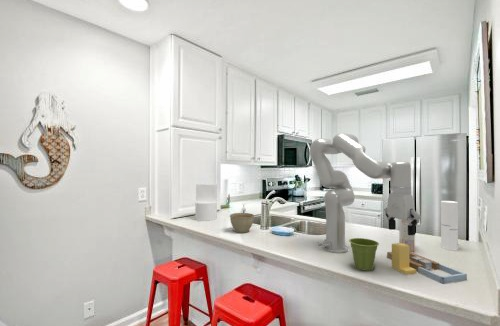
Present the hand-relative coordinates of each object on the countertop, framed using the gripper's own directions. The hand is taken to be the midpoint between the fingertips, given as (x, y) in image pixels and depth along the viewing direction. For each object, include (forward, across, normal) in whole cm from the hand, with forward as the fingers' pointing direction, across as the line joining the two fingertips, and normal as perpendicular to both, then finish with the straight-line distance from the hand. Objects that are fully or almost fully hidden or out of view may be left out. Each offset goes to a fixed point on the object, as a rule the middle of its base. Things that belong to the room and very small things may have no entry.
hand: (401, 232), depth 105 cm
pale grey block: (+16, -2, +10) cm, 18 cm away
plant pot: (+17, -8, -13) cm, 22 cm away
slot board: (+16, -4, +10) cm, 20 cm away
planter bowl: (+15, -79, -51) cm, 95 cm away
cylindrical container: (+17, -18, +49) cm, 55 cm away
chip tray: (+17, +9, +10) cm, 21 cm away
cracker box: (+16, -22, +25) cm, 37 cm away
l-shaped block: (+17, +1, 0) cm, 17 cm away
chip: (+16, +2, +10) cm, 19 cm away
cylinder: (+14, -123, -71) cm, 142 cm away
